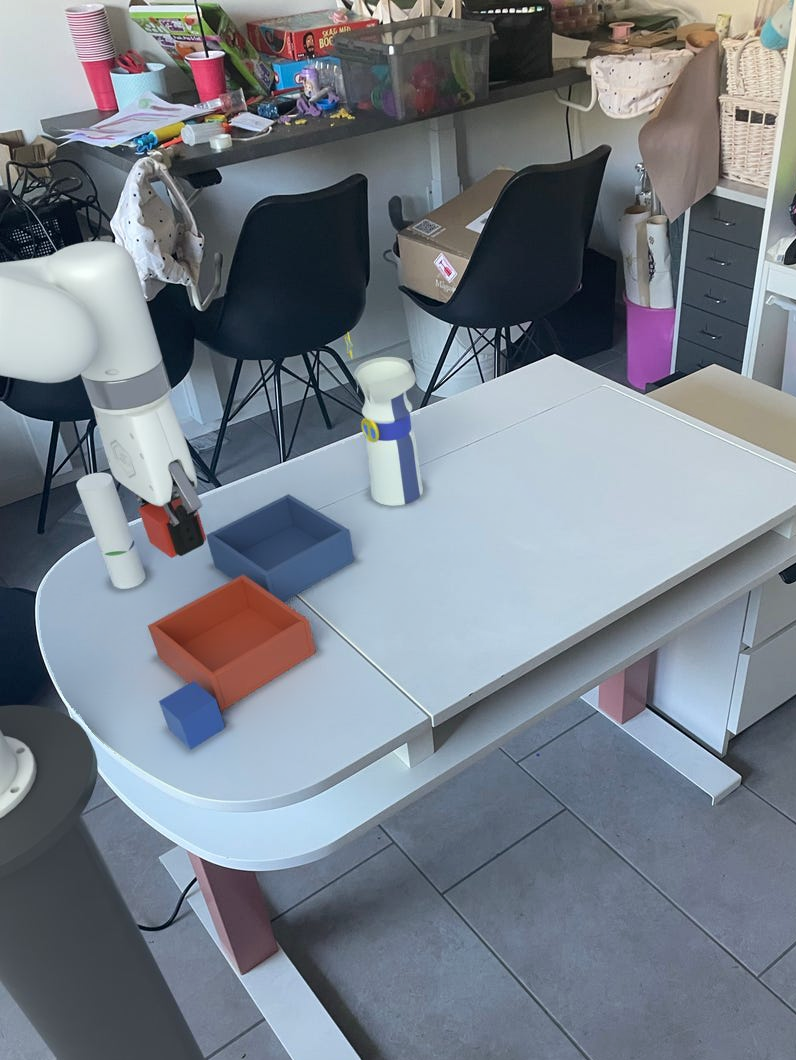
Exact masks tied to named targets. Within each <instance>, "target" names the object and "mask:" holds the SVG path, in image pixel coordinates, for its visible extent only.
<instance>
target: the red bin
mask: <svg viewBox="0 0 796 1060" xmlns="http://www.w3.org/2000/svg"><path fill="white" fill-rule="evenodd" d="M147 628H148V631H149V634H150V636H151V640H152V642H153V645H154V648H155V651H156V654H157V657H158V659H159V660H161V662H163V663H164V664H165V665H166V666H168V667H169V668H170V669H171V670H172V671H173V672H174V673H176V674H177V675H178V676H179V677H181V679H182V680H183V681H185V682H186V683H187V684H189V683H191V682H192V681H195V682H196V683H197V684H198V685H200V686H201V687H202V688H203V689H204V690H205V691H207V692H208V693H209V694H210V695H211V696H213V697H214V698H215V699H216V701H217V704H218V707H219V711H220V712H223V711H225V710H226V709H228V708H229V707H231V706H232V705H234V704H236V703H238V702H239V701H241V700H243V699H244V698H245V697H247V696H248V695H250V694H252V693H254V692H255V691H256V690H258V689H260V688H261V687H263V686H264V685H266V684H268V683H270V682H271V681H273V680H274V679H276V678H277V677H279V676H281V675H282V674H284V673H286V672H287V671H288V670H289V671H290V669H292V668H294V667H295V666H297V665H299V664H300V663H302V662H303V661H306V660H307V659H308V658H310V657H311V656H313V655H315V654H316V653H317V652H316V648H315V643H314V638H313V634H312V629H311V624H310V620H309V619H308V618H307V617H305V616H304V615H302V614H301V613H300V612H298V611H296V610H295V609H294V608H292V607H291V606H290V605H288V604H287V603H285V601H284V602H282V601H281V600H279V599H278V598H277V597H275V596H274V595H272V594H271V593H269V592H268V591H266V590H265V589H264V588H262V587H261V586H259V585H258V584H256V583H255V582H254V581H252V580H251V579H249V578H248V577H246V576H245V575H241V576H239V577H237V578H235V579H234V580H233V579H232V580H230V581H228V582H225V583H224V584H223V585H220V586H218V587H217V588H215V589H213V590H211V591H210V592H208V593H206V594H204V595H202V596H200V597H199V598H196V599H195V600H192V601H191V602H189V603H187V604H186V605H183V606H182V607H180V608H178V609H176V610H175V611H173V612H171V613H168V614H167V615H165V616H163V617H161V618H159V619H158V620H155V621H154V622H152V623H151V624H149V625H147Z"/></svg>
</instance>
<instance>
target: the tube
mask: <svg viewBox="0 0 796 1060" xmlns="http://www.w3.org/2000/svg"><path fill="white" fill-rule="evenodd" d="M75 486H76V489H77V492H78V494H79V497H80V499H81V502H82V505H83V508H84V510H85V513H86V516H87V518H88V521H89V523H90V526H91V529H92V532H93V534H94V537H95V540H96V542H97V545H98V547H99V550H100V553H101V555H102V558H103V561H104V563H105V566H106V569H107V572H108V574H109V577H110V579H111V582H112V586H114V587H115V588H117V589H121V590H127V589H132V588H136V587H138V586H139V585H141V584H142V583H144V581H145V580H146V577H147V575H146V571H145V569H144V566H143V563H142V560H141V557H140V554H139V551H138V549H137V546H136V543H135V540H134V537H133V534H132V531H131V528H130V526H129V523H128V519H127V516H126V514H125V511H124V507H123V505H122V502H121V498H120V497H119V493H118V490H117V488H116V484H115V481H114V479H113V475H111V474H110V473H108V472H94V473H90V474H86V475H85V476H82V477H81V478H79V479H78V480H77V482H76V485H75Z"/></svg>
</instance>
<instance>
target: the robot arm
mask: <svg viewBox="0 0 796 1060" xmlns="http://www.w3.org/2000/svg"><path fill="white" fill-rule="evenodd" d="M157 338H158V337H157V334H156V331H155V327H154V324H153V321H152V317H151V314H150V309H149V307H148V304H147V301H146V296H145V293H144V289H143V285H142V283H141V279H140V275H139V271H138V269H137V266H136V263H135V260H134V258H133V255H132V254H131V253H130V251H129V250H128V249H127V248H126V247H124V246H123V245H121V244H119V243H116V242H112V241H105V240H96V241H95V240H94V241H92V240H91V241H84V242H79V243H75V244H71V245H68V246H65V247H63V248H61V249H59V250H57V251H56V252H54V253H53V254H49V255H46V256H41V257H35V258H28V259H22V260H14V261H13V260H12V261H4V262H0V376H2V377H7V378H12V379H18V380H24V381H28V382H36V383H43V384H56V383H63V382H66V381H70V380H73V379H74V378H77V377H78V376H79V375H80V377H81V379H82V382H83V385H84V388H85V391H86V393H87V397H88V399H89V401H90V404H91V407H92V409H93V412H94V417H95V421H96V425H97V428H98V432H99V436H100V439H101V443H102V446H103V449H104V452H105V456H106V459H107V463H108V465H109V469H110V471H111V474H112V477H114V479H115V480H116V481H117V482H119V483H120V484H121V485H122V486H124V487H125V488H127V489H128V490H130V491H131V492H133V493H134V495H135V498H136V500H137V502H138V503H139V504H140V506H139V508H141V507H143V506H145V505H147V504H149V503H151V504H153V505H156V506H163V508H164V510H165V512H166V515H167V517H168V519H169V522H170V523H168V524H167V527H168V531H169V534H170V537H171V540H172V543H173V546H174V549H175V552H176V554H178V555H177V556H179V557H183V556H185V555H187V554H189V553H190V552H192V551H194V550H196V549H199V548H201V547H202V546H203V545H204V544H205V541H204V539H203V536H202V532H201V529H200V526H199V522H198V519H197V515H198V513H199V509H201V508H202V507H203V503H202V501H201V499H200V497H199V495H198V494H197V492H196V490H197V488H198V478H197V473H196V468H195V466H194V462H193V459H192V458H193V457H192V456H191V453H190V449H189V446H188V443H187V440H186V437H185V435H184V431H183V429H182V427H181V425H180V421H179V418H178V416H177V414H176V412H175V408H174V407H173V404H172V402H171V400H170V398H169V397H170V396H171V394H172V387H171V383H170V380H169V376H168V372H167V369H166V366H165V362H164V359H163V355H162V352H161V348H160V345H159V341H158V339H157ZM173 488H174V490H173ZM178 498H181V500H182V504H181V505H179V506H177V508H176V509H175V510H174V508H173V506H172V503H171V502H172V501H174V500H176V499H178ZM197 510H198V512H197ZM36 773H37V766H36V761H35V758H34V756H33V754H32V752H31V751H30V749H29V748H28V747H27V746H26V745H25V744H24V743H23V742H21V741H19V740H17V739H14V738H11V737H7V736H3V734H2V732H1V730H0V818H2V817H3V816H5V815H6V814H7V813H9V812H10V811H11V810H12V809H14V808H15V807H16V806H17V805H18V804H19V803H20V802H21V801H22V800H23V799H24V797H25V796H26V795H27V793H28V792H29V790H30V789H31V787H32V785H33V783H34V780H35V777H36Z"/></svg>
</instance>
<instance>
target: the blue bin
mask: <svg viewBox="0 0 796 1060" xmlns="http://www.w3.org/2000/svg"><path fill="white" fill-rule="evenodd" d="M205 537H206V541H207V544H208V548H209V551H210V553H211V558H212V561H213V565H214V567H215V568H216V569H218V570H219V571H220V572H222V573H223V574H225V575H226V576H228V577H229V578H230V579H232V580H234V579H235V578H237V577H239V576H241V575H245V576H246V577H248V578H249V579H251V580H252V581H254V582H255V583H256V584H258V585H259V586H261V587H262V588H264V589H265V590H266V591H268V592H269V593H271V594H272V595H274V596H275V597H277V598H278V599H279V600H281V601H282V602H284V603H285V602H286V601H288V600H289V599H291V598H293V597H295V596H297V595H298V594H300V593H301V592H304V591H305V590H307V589H308V588H310V587H313V586H314V585H316V584H317V583H318V582H321V581H322V580H324V579H326V578H328V577H329V576H331V575H333V574H335V573H336V572H338V571H340V570H342V569H343V568H345V567H347V566H349V565H351V564H352V563H354V562H355V556H354V550H353V544H352V538H351V531H350V529H349V528H347V527H345V525H342V524H341V523H339V522H337V521H335V520H333V519H332V518H331V517H329V516H328V515H325V514H324V513H322V512H321V511H318V510H316V509H315V508H314V507H312V506H310V505H308V504H306V503H305V502H303V501H301V500H300V499H298V498H296V497H295V496H293V495H291V494H290V493H287V494H286V495H284V496H282V497H280V498H277V499H275V500H274V501H272V502H269V503H267V504H266V505H263V506H261V507H260V508H258V509H256V510H254V511H252V512H250V513H247V514H246V515H243V516H242V517H240V518H237V519H236V520H234V521H232V522H229V523H228V524H226V525H224V526H222V527H220V528H217V529H216V530H213V531H212V532H211V533H208V534H205Z"/></svg>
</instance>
